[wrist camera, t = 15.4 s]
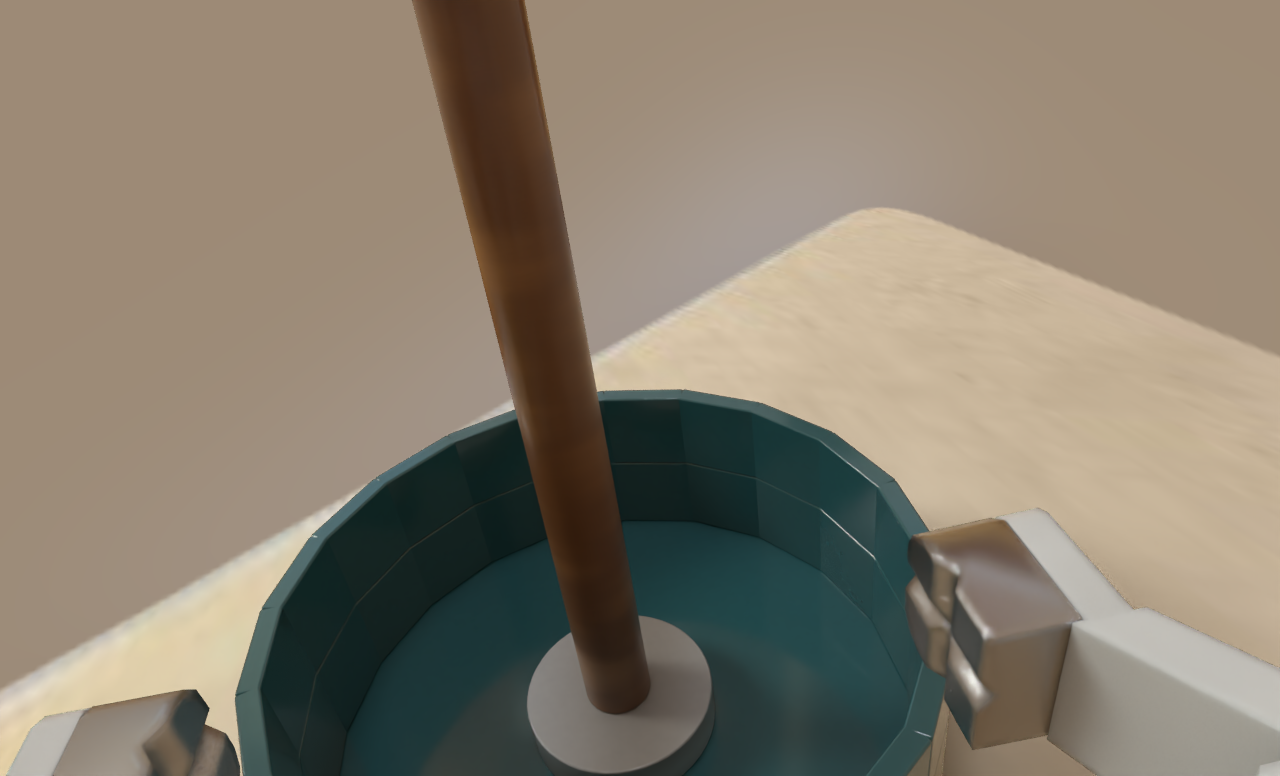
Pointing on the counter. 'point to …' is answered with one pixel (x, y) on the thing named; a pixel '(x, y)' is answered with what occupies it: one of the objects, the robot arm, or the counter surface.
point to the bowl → (663, 587)
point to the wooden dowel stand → (559, 414)
